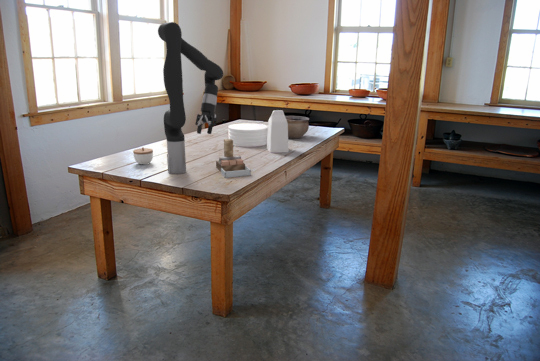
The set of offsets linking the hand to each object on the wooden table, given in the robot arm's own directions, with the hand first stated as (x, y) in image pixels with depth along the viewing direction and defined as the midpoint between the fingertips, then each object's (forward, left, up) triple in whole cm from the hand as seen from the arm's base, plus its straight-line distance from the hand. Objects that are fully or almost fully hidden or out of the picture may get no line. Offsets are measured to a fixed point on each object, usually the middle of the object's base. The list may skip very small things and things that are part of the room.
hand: (203, 133), depth 228 cm
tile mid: (+13, -6, -16) cm, 22 cm away
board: (+13, -3, -20) cm, 24 cm away
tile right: (+17, -6, -16) cm, 25 cm away
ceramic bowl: (+83, +68, -20) cm, 110 cm away
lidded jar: (-30, +26, -20) cm, 45 cm away
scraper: (+13, 0, -16) cm, 21 cm away
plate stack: (+45, +62, -21) cm, 80 cm away
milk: (+55, +32, -20) cm, 67 cm away
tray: (+13, -13, -20) cm, 27 cm away
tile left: (+9, -6, -16) cm, 20 cm away
